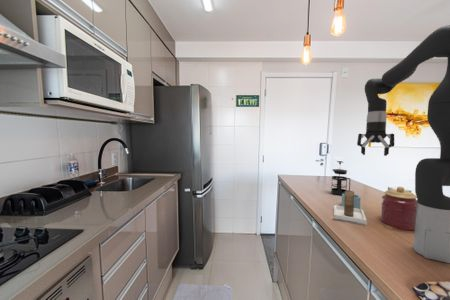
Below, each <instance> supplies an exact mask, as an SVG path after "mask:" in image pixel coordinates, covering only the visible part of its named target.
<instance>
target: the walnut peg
mask: <svg viewBox="0 0 450 300" xmlns="http://www.w3.org/2000/svg"><path fill="white" fill-rule="evenodd" d="M354 194H355V191H353V190H350V191H349V190H348V191H345V201H344V215H345V216H348V217H353V215H354Z"/></svg>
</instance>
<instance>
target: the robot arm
mask: <svg viewBox="0 0 450 300" xmlns="http://www.w3.org/2000/svg"><path fill="white" fill-rule="evenodd" d="M433 58H436V59H437V58H441V59H442V58H447V66H446V72H445V75H444V77H443V79H442V80H441V82H440V83H439V84H438V86H436V88H435V89H434V91H433V92H432V93H431V95H430V97H429V99H428V104H427V118H426V119H427V121H428V124H429V126H430V128H431V130H432V132H434V134H435V136H436V137H437V139H438V141H439V145H440V154H439V158H435V157H430V158H422V159H421V160H419V161H418V163H417V165H416V167H415V173H414V187H415V188H414V191H415V192H414V193H415V195H416V196H417V198H416V200H417V209H416V221H415V230H414V238H413V246H412V247H413V251H415V252H416V254H419V255H421V256H422V257H423V258H425V259H429V260H432V261H433V260H434V261H438V262H442V263H447V264H450V197H449V196H447V195H446V194H444V192H443V191H444V189H443V187H450V24H446V25H442V26H440V27H438V28H436V29H435V30H434V31H433V32H431V33H430V34H429V35H427V37H425V38H424V39H423V40H422V41H421V42H420V43H419V44H418V45H417V46H416V47H415V48H414V49H413V50H412V51H411V52H410V53H409V54H407V56H406V57H404V58H403V59H402V60H401V61H400V62H399V63H397V64H395V65H394V66H392V67H391V68H389V69H388V70H387V71H385V72H384V73H383V74H382V76H381V78H370V79H368V80H367V81H366V83H365V85H364V93H365V97H366V100H367V115H366V127H365V129H366V130H365V133H358V135H357V144H356V145H357V146H359V147H360V149H361V150H360V153H361V154H362V155H363V156H366V146H367V145H368V144H369V143H376V144H377V143H378V144H379V143H380V144H381V145H383V146H384V149H383V150H384V151H383V156H385V157H387V156H389V153H390V148H392V147H393V148H394V147H395V134H394V133H387V130H386V129H387V105H388V103H387V100H386V99H385V98H381V97H379V95H385V94H388V93H390V92H391V91H392V90H394V88H395V87H396V86H397V85H398V84H400V83H402V82H403V81H405V80H407V79H408V78H410V77H411V76H412V75H413V74H414V73H415V72H416V70H417V68H418V67H419V66H420V64H422V63H425V62H426V61H428V60H430V59H431V60H432V59H433ZM364 137H365V138H366V140H365V141H364V142H363V143H362V139H363V138H364ZM386 138H388V139H389V144H388V143H387V141H386V140H385V139H386Z"/></svg>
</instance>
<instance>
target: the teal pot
mask: <svg viewBox="0 0 450 300" xmlns="http://www.w3.org/2000/svg"><path fill="white" fill-rule="evenodd" d="M344 201H345V194H342V196H341V206H343V207H344ZM354 208H356V209H361V196H360V195H359V194H355V193H354Z"/></svg>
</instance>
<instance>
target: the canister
mask: <svg viewBox="0 0 450 300" xmlns="http://www.w3.org/2000/svg"><path fill="white" fill-rule="evenodd" d="M397 187H398V188H397V190H396V189H390V190H388V189H387V190H385V191H384V195H381V198H382V202H381V210H380V211H381V213H380V214H381V215H380V221H381V222H383V224H386V225H388V226H389V227H390V228H394V229H398V230H402V231H415V221H416V209H417V196H416V194H414V193H413V192H412V191H411V192H408V191H404V188H405V187H403V186H397Z"/></svg>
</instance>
